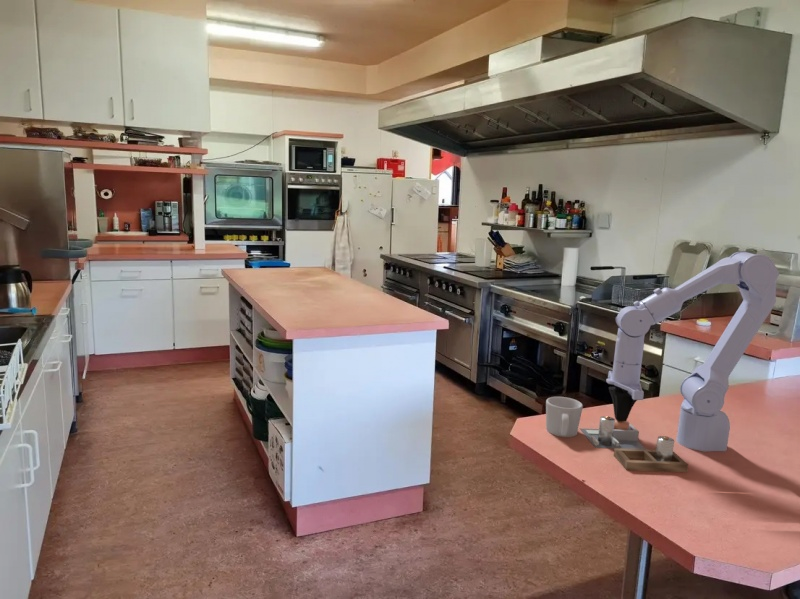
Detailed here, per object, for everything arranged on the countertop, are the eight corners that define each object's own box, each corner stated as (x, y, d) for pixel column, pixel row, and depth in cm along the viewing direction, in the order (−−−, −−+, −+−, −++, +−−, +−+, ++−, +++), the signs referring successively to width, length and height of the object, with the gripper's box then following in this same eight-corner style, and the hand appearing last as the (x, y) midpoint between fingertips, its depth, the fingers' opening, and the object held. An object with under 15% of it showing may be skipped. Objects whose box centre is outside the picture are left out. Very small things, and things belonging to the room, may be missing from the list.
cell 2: (666, 461, 117) (670, 434, 116) (673, 468, 114) (677, 440, 113) (651, 461, 117) (655, 433, 116) (658, 468, 114) (662, 440, 113)
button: (624, 427, 131) (625, 418, 131) (630, 433, 128) (631, 424, 127) (608, 426, 131) (609, 418, 131) (614, 432, 127) (615, 424, 127)
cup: (582, 450, 123) (586, 415, 122) (544, 445, 125) (547, 410, 123) (577, 431, 134) (580, 398, 132) (542, 427, 135) (545, 394, 134)
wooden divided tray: (670, 463, 119) (672, 450, 118) (686, 477, 113) (688, 464, 112) (613, 461, 119) (614, 448, 118) (625, 475, 112) (627, 462, 112)
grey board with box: (626, 435, 133) (627, 421, 132) (646, 454, 122) (647, 439, 122) (578, 433, 132) (580, 419, 132) (594, 453, 122) (596, 437, 122)
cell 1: (609, 440, 126) (611, 414, 125) (614, 446, 123) (617, 419, 122) (595, 439, 126) (598, 414, 125) (600, 445, 123) (603, 419, 122)
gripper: (597, 352, 134) (591, 407, 136) (622, 370, 119) (615, 432, 122) (627, 353, 134) (621, 408, 136) (656, 371, 119) (648, 433, 122)
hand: (620, 420), depth 129 cm, fingers closed
